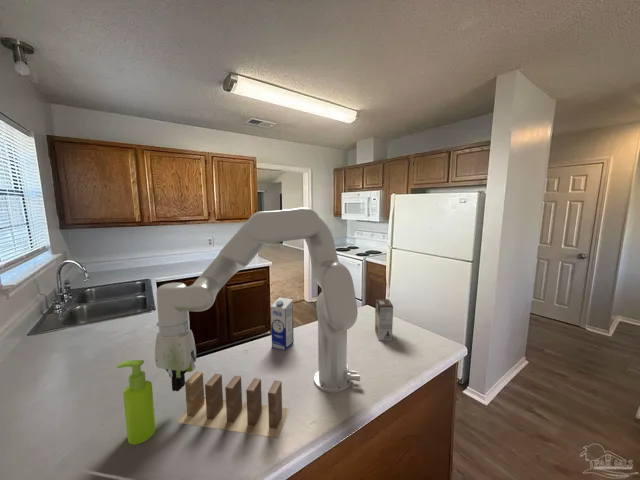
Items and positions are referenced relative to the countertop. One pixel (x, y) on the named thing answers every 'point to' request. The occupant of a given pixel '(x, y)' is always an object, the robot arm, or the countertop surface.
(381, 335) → the coffee box
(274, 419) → the domino
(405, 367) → the countertop surface
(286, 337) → the milk carton
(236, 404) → the domino
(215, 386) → the domino
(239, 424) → the runner
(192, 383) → the domino
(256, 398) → the domino
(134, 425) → the soap dispenser
